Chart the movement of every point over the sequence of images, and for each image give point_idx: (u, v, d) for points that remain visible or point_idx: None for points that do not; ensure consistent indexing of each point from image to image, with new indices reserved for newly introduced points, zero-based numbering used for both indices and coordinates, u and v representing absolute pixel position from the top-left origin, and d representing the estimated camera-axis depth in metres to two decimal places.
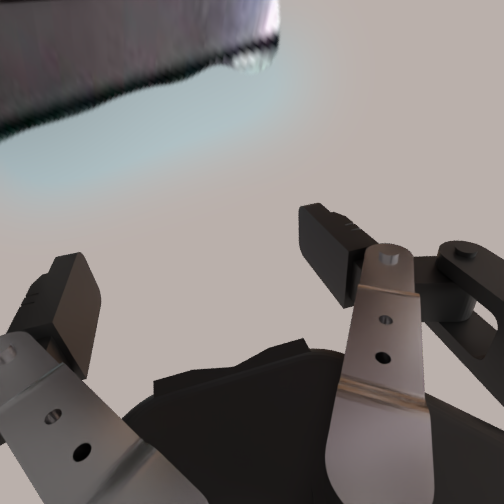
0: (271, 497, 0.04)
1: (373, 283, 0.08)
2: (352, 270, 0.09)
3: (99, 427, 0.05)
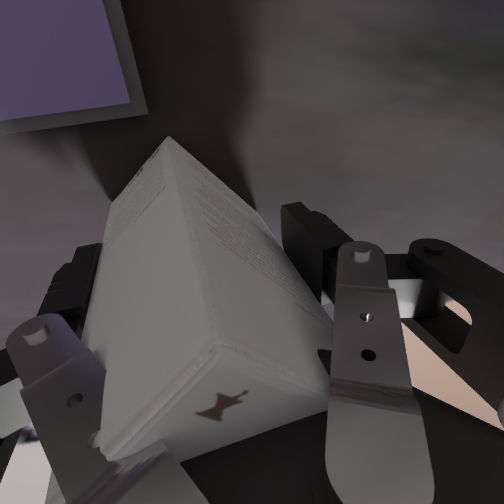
0: (271, 497, 0.04)
1: (349, 281, 0.08)
2: (327, 267, 0.10)
3: None
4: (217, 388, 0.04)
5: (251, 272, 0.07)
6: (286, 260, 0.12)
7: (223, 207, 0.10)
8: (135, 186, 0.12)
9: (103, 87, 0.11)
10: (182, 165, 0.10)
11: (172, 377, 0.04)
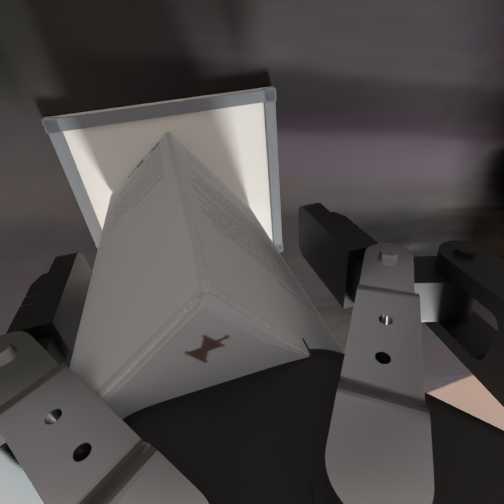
0: (271, 496, 0.04)
1: (373, 283, 0.08)
2: (352, 270, 0.09)
3: (99, 427, 0.05)
4: (203, 329, 0.05)
5: (238, 250, 0.08)
6: (273, 249, 0.13)
7: (216, 197, 0.11)
8: (135, 176, 0.13)
9: None
10: (180, 157, 0.11)
11: (166, 320, 0.05)
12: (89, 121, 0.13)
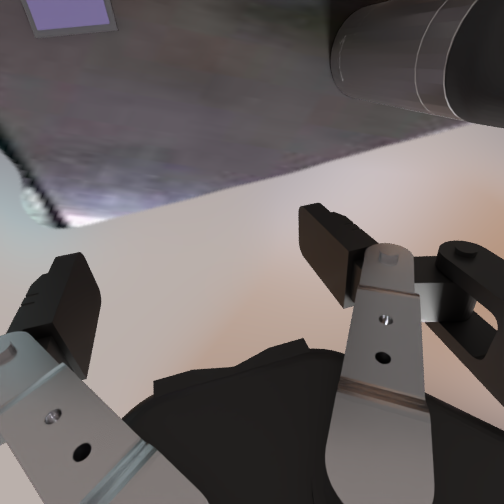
0: (271, 496, 0.04)
1: (373, 283, 0.08)
2: (352, 270, 0.09)
3: (99, 427, 0.05)
4: None
5: None
6: None
7: None
8: None
9: (98, 16, 0.28)
10: None
11: None
12: None
